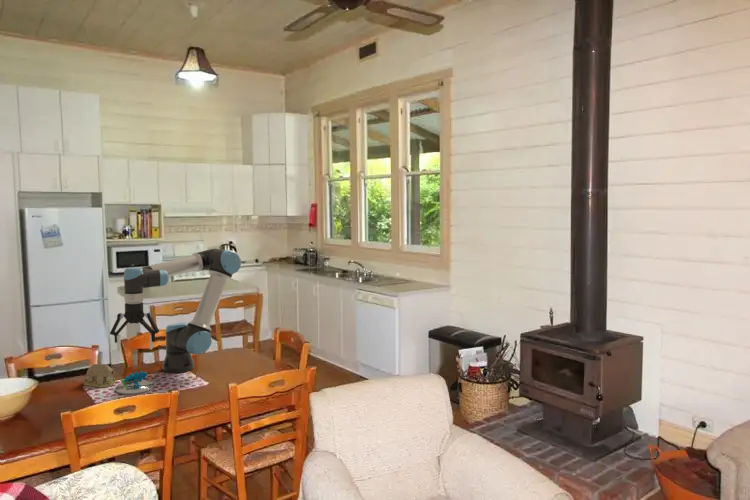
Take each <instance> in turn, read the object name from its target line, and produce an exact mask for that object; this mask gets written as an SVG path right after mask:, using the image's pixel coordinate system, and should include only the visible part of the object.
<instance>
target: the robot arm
mask: <svg viewBox="0 0 750 500" xmlns="http://www.w3.org/2000/svg"><path fill="white" fill-rule="evenodd" d="M241 262H242V261H241V258H240V255H239V254H238V252H236V251H234V250H231V249H223V248H222V249H221V248H210V249H206V250H202V251H198V252H194V253H193V254H192V255H190V256H185V257H181V258H177V259H173V260H167V261H164V262H159V263H155V264H150V265H146V266H142V267H141V266H140V267H138V266H136V267H127V268H125V269H124V271H123V282H124V283H123V285H124V313H121V312H119V313H118V314H117V315H116V320H115V321H114V324H113V326H112V328H111V330H110V332H109V335H112V336H114V343H115V344H116V345H117V348H116V349H117V351H120V350H121V349H122V347H121V346H122V344H121V341H122V340H121V334H120V333H121V332H122V331H123V330H124V328H125V327H126V326H127V325H128V324H139V323H140V325H142V326H143V328H144V329H146V330H147V332H149V333H150V334H149V335H148V336H149V350H152V349H153V348H154V347H153V346H154V344H153V343H154V342H155V341H156V334H158V333H159V332H160V329H159V328H158V326H157V323H156V322H155V321H154V318H153V317H152V313H151V311H149V312H144V303H143V301H144V289H147V288H154V287H155V288H157V287H159V288H160V287H162V286H166V285H167V284H168V283H169V278H170V277H174V276H177V275H181V274H185V273H189V272H193V271H196V272H201V271H208V272H209V278H208V280H207V283H206V286H205V288H204V291H203V294H202V296H201V297H200V301H199V303H198V306H197V308H196V310H195V314H194V316H193V319H192V320H191V321H189V322H179V323H172V324H168V325H167V326H166V327H165V349H166V351H165V357H164V360H163V364H162V371H163V372H165V373H176V374H177V373H185V372H189V371H191V370H194V369H195V361H194V359H193V357H192V355H201V354H204V353H206V352H207V351H208V350H209V349H210V347H211V345H212V343H213V340H212V335H211V332H212V328H211V324H212V321H213V318H214V316H215V313H216V310H217V308H218V305H219V304H220V303H219V302H220V300H221V297H222V294H223V293H224V290H225V286H226V284H227V282H228V281H229V280H231V279H232V278H233V275H234V274H236V273H237V272H239V270H240V269H241V264H242V263H241ZM144 317H146V318H147V320H148V322H149V324H150V325H149V324H148V323H147V321H145V319H144ZM123 318H124V319H125V321H124V322H123V323H122V325H120V326H119V324H120V321H122V319H123ZM118 326H119V328H118ZM117 328H118V329H117Z"/></svg>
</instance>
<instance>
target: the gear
mask: <svg viewBox="0 0 750 500" xmlns="http://www.w3.org/2000/svg"><path fill="white" fill-rule="evenodd" d="M146 377H148V373H147V371H143V370H140V371H139V372H138V371H134V372H133V373H129V374H128V375H127V376H125V377H124V379H121V380H120V381H121V383H120V384H122V383H124V385H125V386H126V389H128V387H127V385H128V384H129V385H131V384H132V383H134V384H136V385H137V388H139V383H138V381H139V382H141V381H143V380H146V379H147V378H146Z"/></svg>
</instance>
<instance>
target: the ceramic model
mask: <svg viewBox="0 0 750 500" xmlns="http://www.w3.org/2000/svg"><path fill="white" fill-rule="evenodd" d="M114 374H115V371H114V369H113V368H112V367H110V366H109V365H108V364H105V363H104V364H102V362H98V363H93V364H91V365H90V367H88V369H87V371H86V376H87V377H85V378H83V385H84V386H87V387H95V388H107V387H112V386H113V385H114V384H115V383H116V379H115V377H113V375H114Z"/></svg>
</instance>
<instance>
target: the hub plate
mask: <svg viewBox="0 0 750 500" xmlns="http://www.w3.org/2000/svg"><path fill="white" fill-rule="evenodd" d="M138 383H139V388H137V385H136V384H134V383H132V384H131V385H129V384H128V385H127V387H128V389H126V386H125V385H124V383H120V384H118V385H116V386H115V393H116V394H119V395H124V396H126V395H127V396H128V395H131V394H133V395H139V394H138V393H141V394H144V393H148V392H150V390H151V391H153V389H154V388H155V383H154V382H153V381H150V380H142V381H141V382H139V381H138ZM147 391H148V392H147Z"/></svg>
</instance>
